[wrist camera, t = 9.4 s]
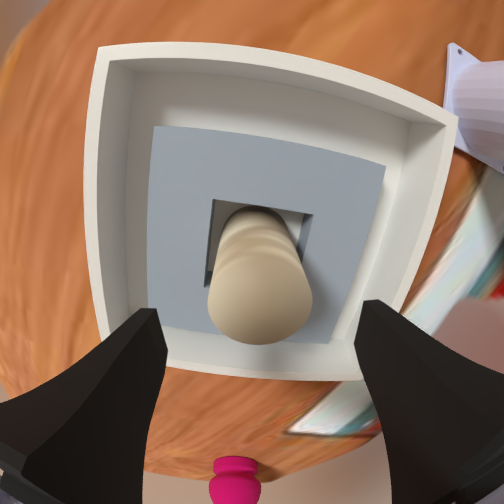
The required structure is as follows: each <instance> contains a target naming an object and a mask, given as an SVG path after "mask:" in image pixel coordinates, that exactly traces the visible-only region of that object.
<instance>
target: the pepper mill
mask: <svg viewBox="0 0 504 504" xmlns="http://www.w3.org/2000/svg"><path fill="white" fill-rule="evenodd" d="M213 471H214V473H215V474H216V476H215V477H214V478H212V479H211V481H210V482H209V493H210V497H211V499H212V501H213V503H214V504H257V502H258V500H259V497H260V493H261V484H260V482H259V481H258V480H257V479H256V478H255V477H254V475H256V474H257V463H256V462H255V461H254V460H252V459H250V458H246V457H239V456H228V457H221V458H218V459H216V460H215V461H214V469H213Z"/></svg>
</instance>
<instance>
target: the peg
mask: <svg viewBox="0 0 504 504" xmlns="http://www.w3.org/2000/svg"><path fill="white" fill-rule="evenodd" d="M207 305H208V312H209V315H210V318H211V320H212V322H213V323H214V325H215V326H216V327H217V328H218V329H219V330H220V331H221V332H222V333H223V334H224V335H226V336H227V337H229V338H231V339H233V340H235V341H238V342H241V343H245V344H250V345H266V344H272V343H276V342H279V341H282V340H284V339H286V338H288V337H290V336H292V335H293V334H294V333H296V332H297V331H298V330H299V329H300V328H301V327H302V326H303V325H304V324H305V322H306V321H307V319H308V317H309V315H310V312H311V309H312V292H311V289H310V286H309V284H308V281H307V278H306V276H305V273H304V270H303V267H302V265H301V262H300V259H299V257H298V254H297V251H296V249H295V246H294V244H293V241H292V238H291V236H290V233H289V231H288V228H287V225H286V223H285V221H284V220H283V218H282V217H281V216H280V215H279V214H278V213H277V212H276V211H274V210H272V209H270V208H268V207H265V206H259V205H251V206H246V207H243V208H240V209H238V210H237V211H235V212H234V213H233V214H231V215H230V216H229V218H228V219H227V220H226V222H225V224H224V226H223V230H222V234H221V238H220V243H219V247H218V252H217V257H216V261H215V266H214V271H213V275H212V280H211V285H210V290H209V295H208V303H207Z"/></svg>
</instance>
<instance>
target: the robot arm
mask: <svg viewBox="0 0 504 504" xmlns="http://www.w3.org/2000/svg"><path fill="white" fill-rule="evenodd" d="M458 51H459V53H458ZM443 109H445V110H447V111H449V112H451V113H452V114H454V115H456V116H458V117H459V119H458V126H457V132H456V138H455V143H454V147H456V148H458V149H460V150H461V151H463V152H465V153H467V154H469V155H471V156H473V157H474V158H476V159H478V160H480V161H482V162H483V163H485V164H487V165H488V166H490V167H492V168H493V169H495V170H497V171H498V172H500V173H501V174H503V175H504V61H492V62H480V61H479V60H478V59H476V58H475V57H474V56H472V55H471V54H469V53H468V52H467V51H465V50H464V49H462V48H461V47H459V46H458V45H456V44H455V43H450V44H448V53H447V71H446V84H445V93H444V102H443ZM354 347H355V351H356V356H357V359H358V363H359V367H360V369H361V372H362V375H363V377H364V380H365V382H366V385H367V387H368V390H369V392H370V395H371V397H372V400H373V403H374V405H375V408H376V410H377V413H378V416H379V419H380V422H381V426H382V430H383V435H384V439H385V444H386V449H387V455H388V461H389V468H390V477H391V486H392V487H391V489H392V504H504V374H502V373H499V372H496V371H494V370H491V369H489V368H486V367H484V366H482V365H479V364H477V363H475V362H473V361H471V360H469V359H467V358H465V357H463V356H462V355H460V354H458V353H456V352H455V351H453V350H451V349H449V348H448V347H446V346H445V345H443V344H442V343H440V342H439V341H437V340H435V339H434V338H432V337H431V336H430V335H428V334H427V333H425V332H424V331H422V330H421V329H420V328H418V327H417V326H415V325H414V324H413V323H411V322H410V321H409V320H407V319H406V318H405V317H403V316H402V315H401V314H399V313H398V312H397V311H395V310H394V309H392V308H391V307H390V306H388V305H387V304H385V303H384V302H382V301H381V300H379V299H376V300H365V301H363V305H362V310H361V314H360V319H359V323H358V327H357V332H356V336H355V340H354ZM167 355H168V348H167V345H166V341H165V338H164V334H163V331H162V327H161V324H160V320H159V316H158V312H157V308H140V309H139V310H138V311H136V312H135V313H134V314H133V315H132V316H130V317H129V318H128V319H127V320H126V321H125V322H124V323H123V324H122V325H120V326H119V327H118V328H117V329H116V330H115V331H114V332H113V333H111V334H110V335H109V336H108V337H107V338H106V339H105V340H104V341H102V342H101V343H100V344H99V345H98V346H96V347H95V348H94V349H93V350H91V351H90V352H89V353H88V354H87V355H85V356H84V357H83V358H82V359H80V360H79V361H78V362H76V363H75V364H74V365H72V366H71V367H70V368H68V369H67V370H65V371H64V372H62V373H61V374H59V375H58V376H56V377H54V378H53V379H51V380H49V381H47V382H46V383H44V384H42V385H40V386H38V387H37V388H35V389H33V390H31V391H29V392H27V393H25V394H22V395H20V396H18V397H15V398H13V399H11V400H8V401H5V402H3V403H0V468H1V469H2V470H3V471H4V472H3V475H2V476H1V475H0V504H142V486H143V469H144V458H145V450H146V442H147V435H148V431H149V426H150V422H151V419H152V415H153V412H154V408H155V405H156V401H157V398H158V395H159V391H160V388H161V384H162V381H163V378H164V374H165V368H166V362H167Z"/></svg>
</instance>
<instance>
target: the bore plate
mask: <svg viewBox="0 0 504 504" xmlns="http://www.w3.org/2000/svg"><path fill="white" fill-rule="evenodd" d="M385 170H386V166H384V165H381V164H378V163H375V162H372V161H369V160H365V159H362V158H358V157H355V156H351V155H347V154H343V153H339V152H335V151H331V150H327V149H322V148H318V147H314V146H309V145H304V144H299V143H294V142H289V141H284V140H279V139H273V138H267V137H261V136H255V135H249V134H242V133H234V132H227V131H219V130H210V129H200V128H189V127H176V126H154V132H153V141H152V150H151V161H150V174H149V189H148V210H147V290H148V308H157V312H158V316H159V320H160V324H161V325H163V326H168V327H174V328H180V329H186V330H193V331H199V332H206V333H213V334H221V335H224V334H223V333H222V332H221V331H220V330H219V329H218V328H217V327H216V326H215V325H214V323H213V322H212V320H211V318H210V315H209V312H208V305H207V303H208V295H209V290H210V285H211V280H212V275H213V272H212V271H208V262H209V252H210V243H211V234H212V225H213V217H214V209H215V201H216V199H217V200H224V201H231V202H238V203H245V204H252V205H259V206H265V207H272V208H278V209H284V210H290V211H296V212H302V213H304V217H303V221H302V226H301V230H300V234H299V238H298V243H297V247H296V251H297V254H298V257H299V259H300V262H301V265H302V267H303V270H304V273H305V276H306V278H307V281H308V284H309V286H310V289H311V292H312V309H311V312H310V315H309V317H308V319H307V321H306V322H305V324H304V325H303V326H302V327H301V328H300V329H299V330H298V331H297V332H296V333H294V334H293V335H292V336H290V337H288V338H286V339H284V340H282V341H288V342H301V343H318V344H328V343H329V341H330V338H331V336H332V333H333V331H334V329H335V326H336V324H337V321H338V319H339V316H340V314H341V311H342V309H343V306H344V303H345V301H346V298H347V295H348V293H349V290H350V287H351V285H352V282H353V279H354V276H355V273H356V270H357V268H358V265H359V262H360V259H361V256H362V253H363V249H364V246H365V243H366V240H367V237H368V233H369V230H370V227H371V223H372V220H373V216H374V213H375V209H376V206H377V202H378V198H379V195H380V191H381V187H382V183H383V179H384V175H385Z"/></svg>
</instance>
